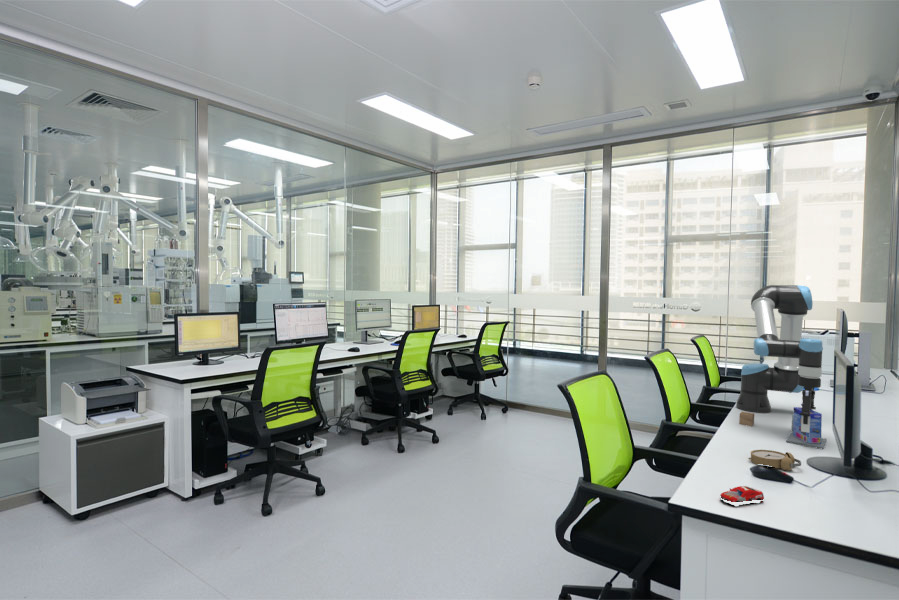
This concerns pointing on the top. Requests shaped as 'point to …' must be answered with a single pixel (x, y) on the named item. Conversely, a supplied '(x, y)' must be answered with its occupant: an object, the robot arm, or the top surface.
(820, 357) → the robot arm
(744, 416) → the walnut cube
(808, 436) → the ink cartridge box
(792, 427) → the slate cylinder
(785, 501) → the top surface
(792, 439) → the charcoal mat
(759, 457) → the alarm clock
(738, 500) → the race car
